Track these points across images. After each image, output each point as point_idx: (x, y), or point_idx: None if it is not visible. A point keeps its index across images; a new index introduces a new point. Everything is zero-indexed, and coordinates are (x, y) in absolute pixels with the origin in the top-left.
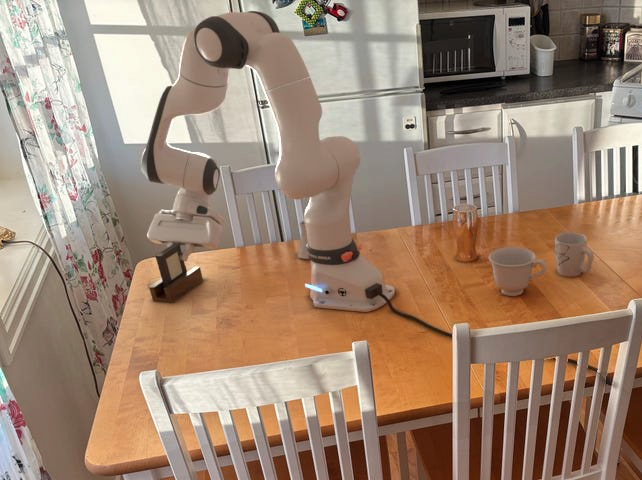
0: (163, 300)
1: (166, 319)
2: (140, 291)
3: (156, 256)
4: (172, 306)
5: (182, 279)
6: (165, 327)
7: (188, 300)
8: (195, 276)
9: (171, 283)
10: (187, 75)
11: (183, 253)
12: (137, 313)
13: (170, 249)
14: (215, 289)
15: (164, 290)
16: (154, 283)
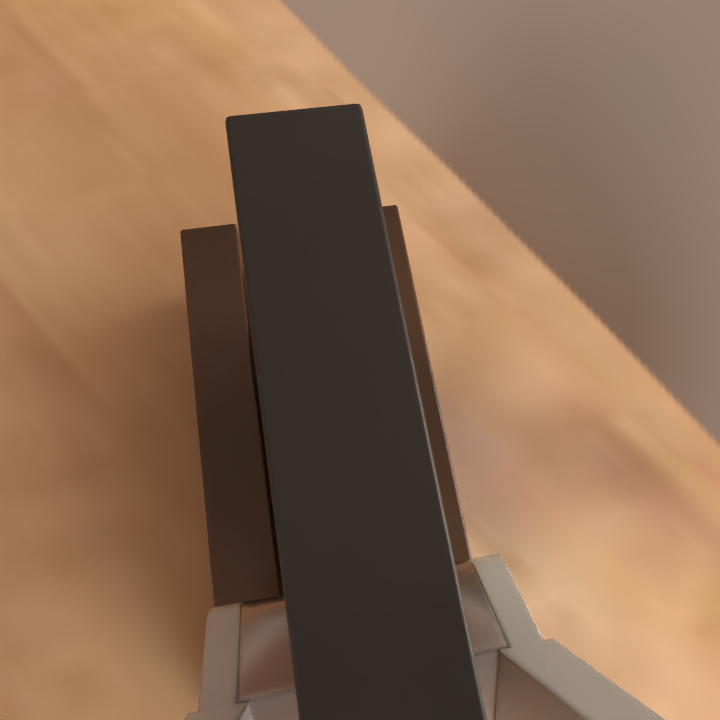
0: None
1: (80, 99)
2: (605, 354)
3: (334, 114)
4: (172, 249)
5: (200, 447)
6: (14, 26)
7: (115, 366)
8: None
9: (244, 330)
10: None
11: (221, 699)
12: (336, 103)
13: (291, 445)
14: (3, 635)
15: (238, 234)
16: (408, 275)
